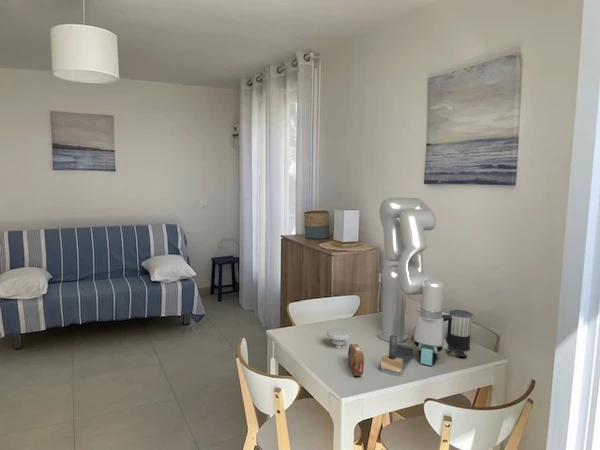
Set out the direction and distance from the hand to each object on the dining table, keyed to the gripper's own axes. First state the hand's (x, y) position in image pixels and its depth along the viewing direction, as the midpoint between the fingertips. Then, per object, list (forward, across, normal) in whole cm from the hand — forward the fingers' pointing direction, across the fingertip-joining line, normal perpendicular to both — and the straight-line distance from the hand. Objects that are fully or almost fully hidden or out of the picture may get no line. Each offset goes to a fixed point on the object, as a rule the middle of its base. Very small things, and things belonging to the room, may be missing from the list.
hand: (427, 360), depth 169 cm
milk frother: (+2, +8, +19) cm, 21 cm away
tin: (+2, -21, -19) cm, 29 cm away
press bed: (+2, -9, -7) cm, 12 cm away
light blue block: (+1, 0, +1) cm, 1 cm away
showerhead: (+2, -35, -3) cm, 35 cm away
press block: (0, -9, -14) cm, 17 cm away
